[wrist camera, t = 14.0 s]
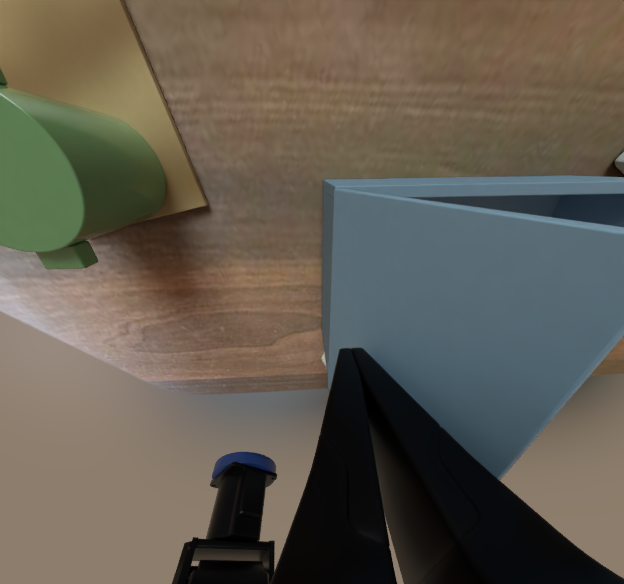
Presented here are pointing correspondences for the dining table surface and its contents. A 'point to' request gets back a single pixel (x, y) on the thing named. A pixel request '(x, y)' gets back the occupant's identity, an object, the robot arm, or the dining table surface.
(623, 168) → the white cardboard box
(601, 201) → the carton
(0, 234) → the pot
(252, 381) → the dining table surface
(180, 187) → the board
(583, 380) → the flap
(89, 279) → the dining table surface
